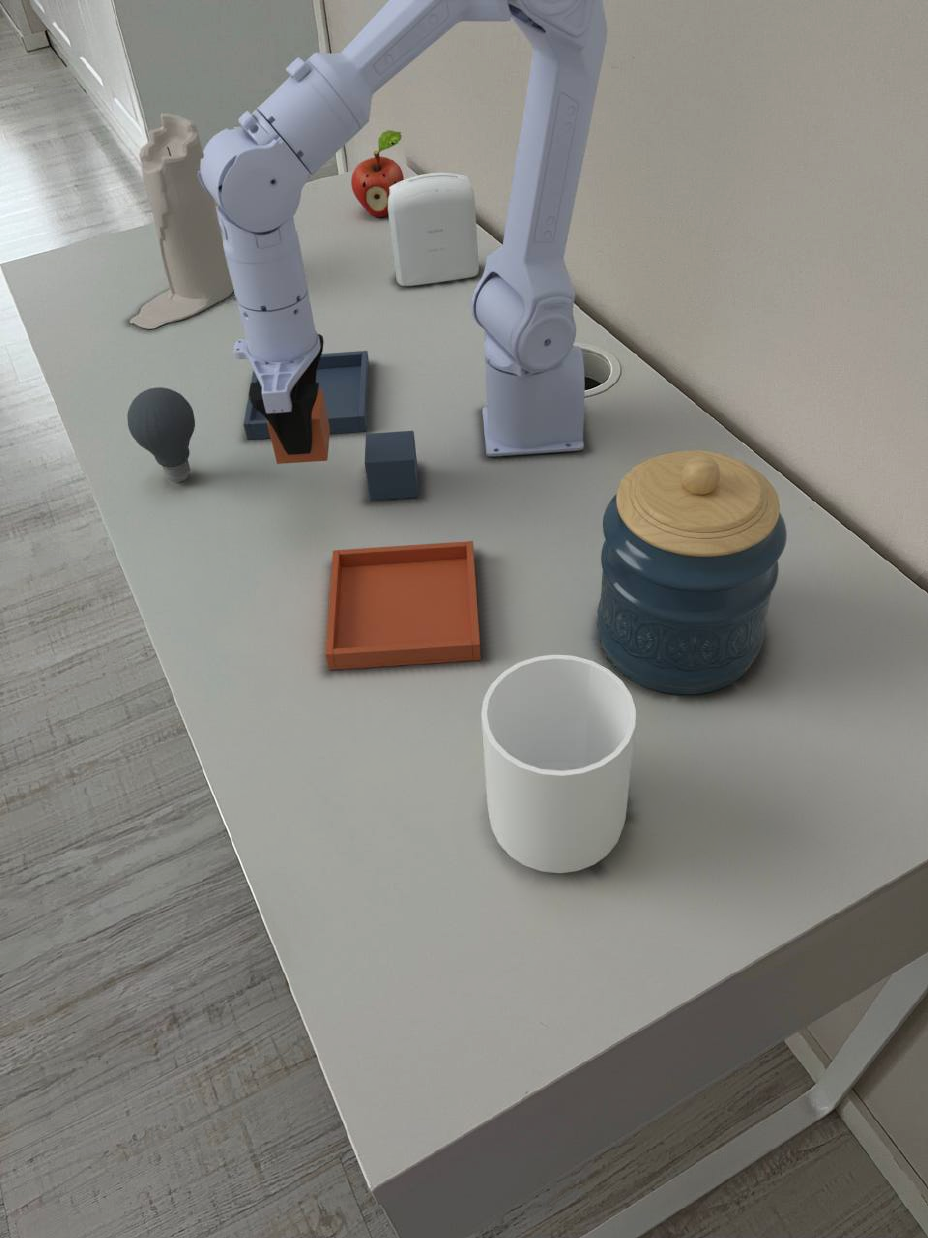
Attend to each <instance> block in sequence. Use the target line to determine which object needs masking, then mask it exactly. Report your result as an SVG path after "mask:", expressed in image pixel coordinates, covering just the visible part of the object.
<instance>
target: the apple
mask: <svg viewBox="0 0 928 1238" xmlns="http://www.w3.org/2000/svg"><path fill="white" fill-rule="evenodd" d="M401 140H402V132H401V131H394V130H386V131H385V130H384V131H383V132H382V133H381V134H380V136H379V137H378V150H375V151H374V152H373V155H374V157H371V158H370V157H369V158H367V159H365V160H363V161H361V162H359V163H358V164H357V165H356V167H355V168H354V170H353V171H352V175H351V178H350V179H351V180H350V185H351V190H352V192H353V194H354V197H355V198H356V200H357V201H358V203H359V204H360V205H361V206H362V207H363V208H364V209H365V210H366V212H368V214H369V215H371V216H372V217H374V218H380V217H385V216H389V214H388V198H389V195H390V193H389V187H391V186H392V185H394V184H396V183H398V182H400V181H402V180H405V179H404V178H405V177H404V172H403V170H402V167H401V166H400V164H399V163H397V162H396V161H395V160H393V159H391V158H388V157H386V156H381V155H380V153H381V152H382V151H385V150H387V149H390V148H393V147H394V146H396V145H398V144H399V143H400V141H401Z"/></svg>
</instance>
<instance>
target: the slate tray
mask: <svg viewBox="0 0 928 1238" xmlns="http://www.w3.org/2000/svg"><path fill="white" fill-rule="evenodd" d="M251 383H259V381H258V378H257V376H256V374H255V372H254V370H253V371H252V376H251V382H250V384H251ZM316 383H319V388H318V390H320V389H322V390H323V395H324V400H325V405H326V411H327V416H328V422H329V427H330V435H332V434H347V433H360V432H367V430H368V409H369V408H368V407H369V389H370V388H369V385H370V359H369V353H368V350H360V351H345V352H331V353H322V354H321V357H320V360H319V363H318V367H317V373H316ZM243 428H244V433H245V436H246V439H247V440H259V439H262V440H263V439H271V437H270V433H269V428H268V424H267V419H266V418H265V417H264V416H263V415H262V414H261V413H260V412H259V411H258V410H257V409H255V408H254V407H253V406H252V404H251V402H250V398H249V396H248V398H247V403H246V408H245V414H244V419H243Z"/></svg>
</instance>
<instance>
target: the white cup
mask: <svg viewBox="0 0 928 1238" xmlns="http://www.w3.org/2000/svg"><path fill="white" fill-rule="evenodd" d="M480 716H481V717H480V718H481V733H482V746H483V761H484V774H485V787H486V805H487V812H488V817H489V823H490V827H491V831H492V833H493V835H494V836H495V839H496V841H497V843H498V845H499V846H500V847H501V848H502V849H503V850H504V852H506V854H508V855H509V857H511V858H512V859H514V860H515V861H517V862H518V863H519V864H521V865H523V866H524V867H528V868H531V869H533V870H536V871H539V872H544V873H551V874H552V873H553V874H565V873H573V872H579V871H581V870H584V869H586V868H588V867H591V866H594V865H596V864H597V863H599V862H600V861H601V860H603V859H604V858H605V857H607V856H608V855H609V854H610V853H611V851H612V850H613V849H614V847H616V845H617V844H618V842H619V840H620V837H621V834H622V832H623V829H624V826H625V824H626V823H625V822H626V818H627V811H628V810H627V808H628V798H629V790H630V789H629V788H630V781H631V771H632V761H633V752H634V742H635V733H636V732H635V731H636V721H637V719H636V718H637V709H636V705H635V703H634V699H633V696H632V693H631V692H630V690H629V689H628V688H627V686H626V685H625V683H624V681H623V680H622V679H620V678H619V677H618V676H617V675H616V674H615V673H613V672H612V671H611V670H610V669H608V668H606V667H604V666H603V665H601V664H599V663H597V662H595V661H593V660H591V659H588V658H587V659H586V658H583V657H580V656H576V655H566V654H548V655H547V654H546V655H541V656H539V655H538V656H534V657H530V658H528V659H525V660H522V661H519V662H517V663H515V664H514V665H512V666H511V667H509V668H507V669H506V670H504V671H502V673H501V674H500V675H499V676H497V677H496V679H495V680H494V681H493V682H491V684H490V685H489V688H488V689H487V691H486V693H485V695H484V697H483V700H482V707H481V713H480Z"/></svg>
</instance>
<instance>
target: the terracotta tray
mask: <svg viewBox="0 0 928 1238" xmlns="http://www.w3.org/2000/svg"><path fill="white" fill-rule="evenodd" d="M475 566H476V565H475V550H474V541H473V540H466V541H452V542H439V543H438V542H437V543H425V544H424V543H422V544H409V545H394V546H393V545H392V546H379V547H377V546H376V547H364V548H363V547H362V548H351V549H349V548H348V549H336V550H335V549H334V550H332V557H331V568H330V569H331V572H330V583H329V597H328V599H329V600H328V612H327V626H326V638H325V639H326V641H325V651H324V652H325V653H324V654H325V655H324V656H325V659H326V664H327V668H328V670H329V671H336V670H351V669H367V668H382V667H397V666H413V665H426V664H427V665H428V664H441V663H457V662H473V661H481V660H482V654H481V653H482V652H481V639H480V624H479V609H478V608H479V607H478V594H477V580H476V579H477V578H476V567H475Z"/></svg>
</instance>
